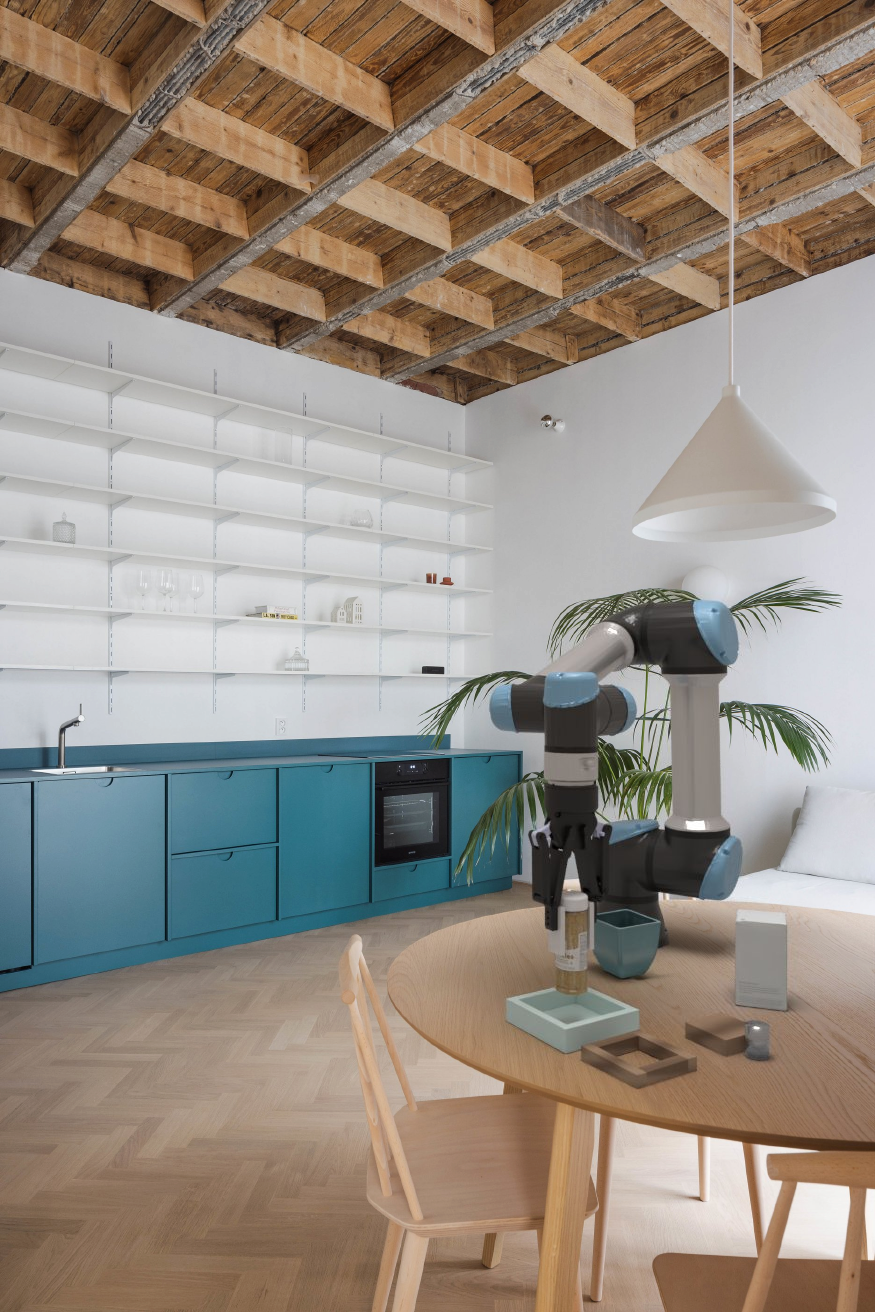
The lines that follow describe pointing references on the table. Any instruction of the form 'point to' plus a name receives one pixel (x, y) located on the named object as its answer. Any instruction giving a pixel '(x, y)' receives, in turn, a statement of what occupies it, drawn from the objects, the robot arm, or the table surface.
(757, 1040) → the bench dog
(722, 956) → the table surface
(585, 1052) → the socket block
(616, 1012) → the tray
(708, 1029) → the square wooden coaster
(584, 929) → the sprinkles bottle
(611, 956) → the flower pot
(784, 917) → the supplement box
